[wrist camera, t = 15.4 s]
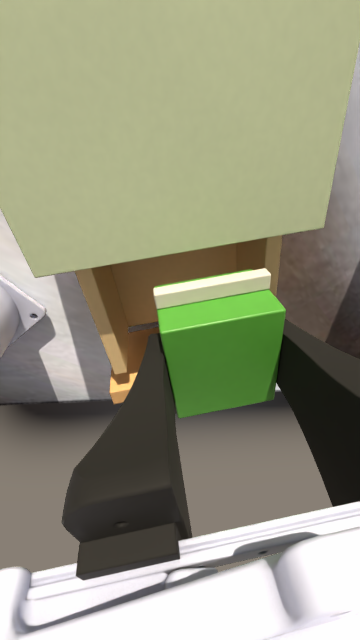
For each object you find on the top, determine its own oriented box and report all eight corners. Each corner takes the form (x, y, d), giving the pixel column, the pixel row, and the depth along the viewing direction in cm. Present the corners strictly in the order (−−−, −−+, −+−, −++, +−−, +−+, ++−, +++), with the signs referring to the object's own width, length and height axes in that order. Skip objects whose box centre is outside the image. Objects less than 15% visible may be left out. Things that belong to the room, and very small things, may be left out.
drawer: (247, 361, 26) (273, 414, 21) (131, 383, 26) (130, 443, 21) (255, 153, 16) (309, 164, 11) (61, 183, 15) (28, 209, 11)
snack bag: (150, 271, 12) (156, 316, 9) (252, 253, 12) (289, 292, 9) (171, 374, 16) (180, 427, 13) (248, 359, 16) (273, 409, 13)
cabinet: (257, 193, 18) (323, 228, 12) (70, 224, 18) (34, 278, 11) (275, -201, 10) (515, -754, 4) (-70, -164, 10) (-469, -734, 3)
